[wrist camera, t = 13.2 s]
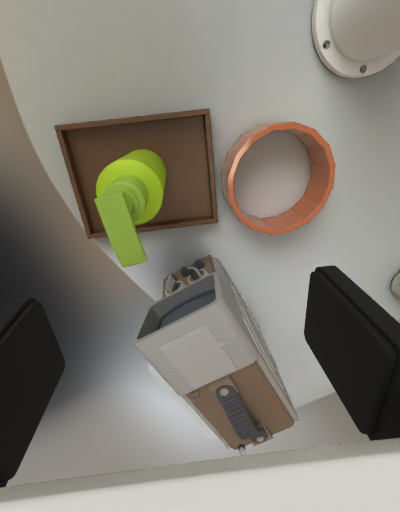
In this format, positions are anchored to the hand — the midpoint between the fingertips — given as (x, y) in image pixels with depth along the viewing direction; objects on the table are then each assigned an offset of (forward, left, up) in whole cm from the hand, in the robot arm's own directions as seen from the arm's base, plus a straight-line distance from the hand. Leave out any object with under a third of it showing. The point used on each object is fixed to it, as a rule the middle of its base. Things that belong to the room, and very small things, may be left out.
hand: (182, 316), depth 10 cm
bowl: (+1, +13, -31) cm, 33 cm away
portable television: (+22, +2, -31) cm, 38 cm away
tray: (-1, -4, -31) cm, 31 cm away
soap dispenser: (-1, -4, -30) cm, 31 cm away
